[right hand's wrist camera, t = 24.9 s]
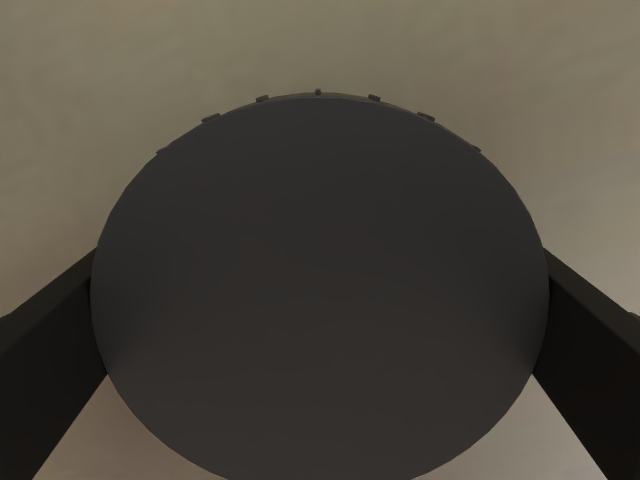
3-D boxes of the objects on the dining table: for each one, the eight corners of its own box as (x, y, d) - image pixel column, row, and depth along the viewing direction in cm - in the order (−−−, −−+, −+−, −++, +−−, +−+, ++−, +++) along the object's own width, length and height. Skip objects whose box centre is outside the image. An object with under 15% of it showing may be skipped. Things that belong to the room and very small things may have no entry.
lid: (94, 395, 13) (60, 443, 12) (165, 18, 9) (131, 6, 8) (420, 478, 15) (434, 533, 13) (596, 177, 11) (649, 196, 9)
